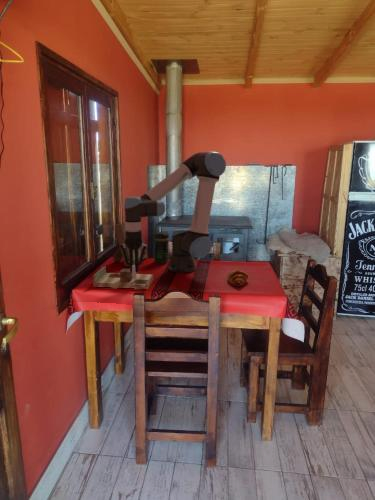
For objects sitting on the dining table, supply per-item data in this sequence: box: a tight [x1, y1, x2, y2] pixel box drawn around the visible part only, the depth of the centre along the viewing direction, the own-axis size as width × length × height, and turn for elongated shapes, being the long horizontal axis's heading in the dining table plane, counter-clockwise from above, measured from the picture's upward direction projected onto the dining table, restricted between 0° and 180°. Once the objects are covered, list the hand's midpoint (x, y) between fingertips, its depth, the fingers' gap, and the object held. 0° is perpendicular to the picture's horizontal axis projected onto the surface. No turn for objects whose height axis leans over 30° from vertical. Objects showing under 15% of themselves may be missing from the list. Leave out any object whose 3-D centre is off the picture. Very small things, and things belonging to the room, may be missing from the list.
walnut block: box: [119, 268, 132, 282], centre depth 174 cm, size 5×5×5 cm
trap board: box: [92, 265, 154, 290], centre depth 177 cm, size 26×16×6 cm, turn 85°
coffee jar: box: [154, 230, 170, 264], centre depth 215 cm, size 10×8×19 cm
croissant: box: [227, 269, 249, 287], centre depth 181 cm, size 21×10×8 cm, turn 178°
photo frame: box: [113, 221, 148, 267], centre depth 214 cm, size 15×22×25 cm
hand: (134, 278), depth 172 cm, fingers closed
